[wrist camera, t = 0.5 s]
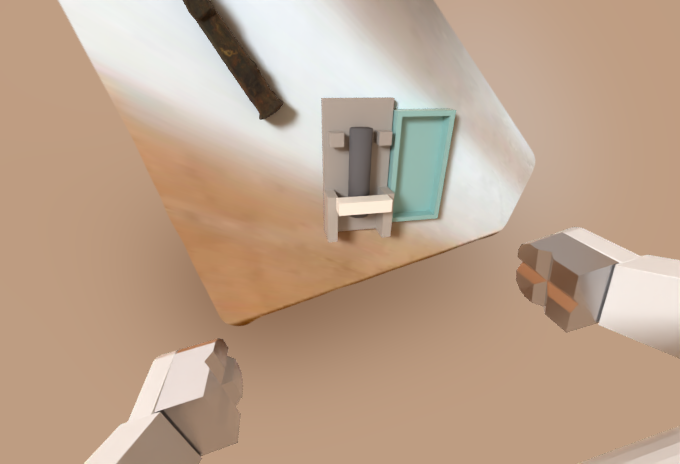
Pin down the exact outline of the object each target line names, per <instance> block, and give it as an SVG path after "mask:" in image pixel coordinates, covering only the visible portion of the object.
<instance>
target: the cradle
mask: <svg viewBox="0 0 680 464" xmlns="http://www.w3.org/2000/svg"><path fill="white" fill-rule="evenodd" d="M321 103H322V151H323V198H324V231H325V234H326V237H327V240H328V242H338V231H350V230H361V229H373V228H376V230H377V231H378V233H379V234H380V236H381V237H390V235H391V225H392V214H393V204H394V193H393V192H392V191H391V190H390V189H389V188H388V187H387V182H388V170H389V158H390V145H392V133H393V132H392V121H393V109H394V98H321ZM351 127H370V128H373V136H372V155H371V174H370V192H369V196H372V195H386V194H387V195H388V196H389V197H390V198H391V199H392V200H393V201H392V212H384V213H372V214H368V216H367V217H364V218H353V217H350V216H349V215H346V216H339V215H338V212H337V210H336V198H342V197H348V180H349V129H350V128H351Z"/></svg>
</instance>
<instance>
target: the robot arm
mask: <svg viewBox="0 0 680 464" xmlns="http://www.w3.org/2000/svg"><path fill="white" fill-rule="evenodd" d="M518 258H519V259H520V260H521V261H522V263H521V264H520V266H519V267H518V269H517V271H516V281H517V284H518V286H519V289H520V290H521V292H522V293H523V294H524V296H525V297H526V298H527V299H528V300H529V301H531V302H532V303H535V304H538V305H541V306H544V312H545V315H547V316H548V317H549V318H550V319H551V320H552V321H553V322H555V323H556V324H557V325H558V326H559V327H561V328H562V329H563V330H564V331H565V332H570V331H573V330H577V329H580V328H583V327H586V326H590V325H593V324H596V323H599V324H598V325H600V326H603V327H605V328H607V329H610V330H612V331H615V332H617V333H619V334H622V335H624V336H627V337H629V338H631V339H634V340H636V341H639V342H641V343H643V344H646V345H648V346H651V347H653V348H655V349H658V350H660V351H663V352H665V353H668V354H670V355H672V356H675V357H677V358H680V260H675V259H669V258H663V257H657V256H651V255H645V256H639V255H637V254H635V253H633V252H630V251H629V250H627V249H625V248H623V247H621V246H618V245H616V244H614V243H612V242H610V241H608V240H606V239H604V238H602V237H600V236H598V235H596V234H594V233H592V232H590V231H587V230H586V229H583V228H579V227H572V228H570V229H567V230H563V231H560V232H557V233H556V234H552V235H549V236H546V237H543V238H540V239H536V240H533V241H530V242H527V243H524V244H522V245H521V246H520V248H519V249H518ZM227 353H228V346H227V345H226V343H225V342H224V340H223V339H220V338H218V339H214V340H210V341H207V342H203V343H200V344H196V345H193V346H189V347H186V348H183V349H180V350H177V351H173V352H170V353H166V354H163V355H160V356H158V357H157V358H156V359H155V360H154V361H153V364H152V366H151V369H150V371H149V373H148V375H147V378H146V380H145V382H144V385H143V387H142V389H141V392H140V394H139V397H138V399H137V401H136V404H135V406H134V408H133V411H132V413H131V415H130V418H129V420H128V422H126V423H124V424H121V425H119V427H118V428H117V429H116V430H115V431H114V432H113V433H112V434H111V435H110V436H109V437H108V438H107V439H106V441H105V442H104V443H103V444H102V445H101V446H100V447H99V448H98V449H97V450H96V451H95V452H94V453H93V454H92V455H91V456H90V458H89V459H88V460H87V461H86V462H85V463H84V464H199V463H200V461H201V459H202V458H201V456H203V455H205V454H208V453H211V452H214V451H216V450H219V449H222V448H224V447H227V446H230V445H233V444H236V443H238V435H239V425H240V413H239V411H238V409H237V408H236V405H237V404H238V402H239V401H240V399H241V398H242V394H243V380H242V373H241V370H240V367H239V365H238V363H237V362H236V360H235V359H234V358H231V357H229V356H227ZM578 464H680V426H678V427H675V428H672V429H670V430H667V431H664V432H661V433H659V434H656V435H653V436H651V437H648V438H645V439H642V440H640V441H637V442H634V443H632V444H629V445H626V446H623V447H621V448H618V449H615V450H613V451H610V452H607V453H604V454H602V455H599V456H596V457H594V458H591V459H588V460H586V461H583V462H580V463H578Z"/></svg>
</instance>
